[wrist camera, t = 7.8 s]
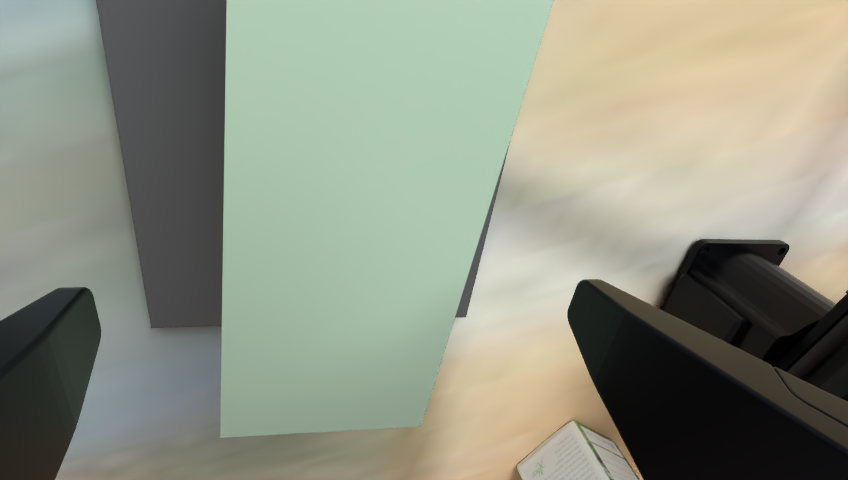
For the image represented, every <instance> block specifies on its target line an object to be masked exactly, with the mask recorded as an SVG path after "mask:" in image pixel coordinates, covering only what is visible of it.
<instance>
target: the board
mask: <svg viewBox="0 0 848 480" xmlns="http://www.w3.org/2000/svg"><path fill="white" fill-rule="evenodd" d="M553 1H554V0H227V8H226V75H225V142H224V209H223V276H222V343H221V410H220V438H227V437H245V436H263V435H280V434H298V433H316V432H333V431H351V430H369V429H386V428H404V427H421V425H422V421H423V418H424V415H425V412H426V409H427V405H428V402H429V399H430V396H431V392H432V389H433V386H434V383H435V380H436V376H437V373H438V370H439V367H440V364H441V360H442V357H443V354H444V351H445V348H446V344H447V341H448V338H449V335H450V332H451V328H452V325H453V322H454V319H455V316H456V312H457V309H458V306H459V303H460V299H461V296H462V293H463V290H464V287H465V283H466V280H467V277H468V274H469V271H470V267H471V264H472V261H473V258H474V255H475V251H476V248H477V245H478V242H479V239H480V235H481V232H482V229H483V226H484V223H485V219H486V216H487V213H488V210H489V206H490V203H491V200H492V197H493V194H494V190H495V187H496V184H497V181H498V178H499V174H500V171H501V168H502V165H503V162H504V158H505V155H506V152H507V149H508V146H509V142H510V139H511V136H512V133H513V130H514V126H515V123H516V120H517V117H518V113H519V110H520V107H521V104H522V101H523V97H524V94H525V91H526V88H527V85H528V81H529V78H530V75H531V72H532V69H533V65H534V62H535V59H536V56H537V53H538V49H539V46H540V43H541V40H542V37H543V33H544V30H545V27H546V24H547V20H548V17H549V14H550V11H551V8H552V4H553Z"/></svg>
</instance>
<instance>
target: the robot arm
mask: <svg viewBox="0 0 848 480" xmlns="http://www.w3.org/2000/svg"><path fill="white" fill-rule="evenodd" d="M788 250H789V245H788V244H786V243H785V242H783V241H780V240H725V239H702V240H699V241H698V242H696V243H695V244H694V246H693V247H692V249H691V251H690V253H689V255H688V257H687V259H686V261H685V263H684V265H683V267H682V269H681V271H680V273H679V275H678V277H677V279H676V281H675V283H674V285H673V287H672V289H671V291H670V293H669V295H668V297H667V299H666V301H665V303H664V305H663V307H662V309H661V310H660V309H658V308H656V307H654V306H652V305H650V304H648V303H646V302H644V301H642V300H640V299H638V298H636V297H634V296H632V295H630V294H628V293H626V292H624V291H622V290H620V289H618V288H616V287H614V286H612V285H610V284H608V283H606V282H604V281H602V280H598V279H588V280H582V281H580V282H579V283H578V285H577V287H576V290H575V293H574V295H573V298H572V300H571V303H570V306H569V308H568V321H569V324H570V327H571V329H572V332H573V334H574V337H575V339H576V342H577V344H578V347H579V349H580V352H581V354H582V357H583V359H584V362H585V364H586V367H587V369H588V371H589V374H590V376H591V378H592V381H593V383H594V385H595V387H596V389H597V391H598V393H599V395H600V397H601V399H602V401H603V403H604V405H605V407H606V409H607V410H608V412H609V414H610V416H611V418H612V420H613V422H614V424H615V426H616V428H617V430H618V432H619V433H620V435H621V437H622V439H623V441H624V443H625V445H626V447H627V449H628V451H629V453H630V454H631V456H632V458H633V460H634V462H635V464H636V466H637V468H638V470H639V472H640V474H641V476H642V477H643V479H644V480H848V290H847V291H846V293H847V294H846V295H845V296H844V297H843V298H842V299H841V300H840V301H839V302H838V303H837V304H835V303H833V302H832V301H830V300H829V299H827V298H826V297H824V296H823V295H821V294H820V293H818V292H817V291H815V290H814V289H812V288H811V287H809V286H808V285H806V284H805V283H803V282H802V281H800V280H799V279H797V278H795V277H794V276H792V275H791V274H789V273H788V272H786V271H785V270H783V269H782V268H780V267H779V265H780V263H781V262H782V260H783V259H784V257H785V255H786V254H787V252H788ZM100 338H101V327H100V322H99V318H98V314H97V310H96V306H95V301H94V297H93V294H92V292H91V291H90V290H89V289H88V288H85V287H74V288H58V289H56V290H54V291H52V292H50V293H48V294H47V295H45V296H43V297H41V298H40V299H38V300H36V301H34V302H33V303H31V304H29V305H27V306H26V307H24V308H22V309H20V310H19V311H17V312H15V313H13V314H12V315H10V316H8V317H6V318H5V319H3V320H1V321H0V480H55V478H56V476H57V473H58V471H59V469H60V466H61V464H62V461H63V459H64V456H65V454H66V452H67V449H68V447H69V444H70V442H71V439H72V437H73V434H74V431H75V429H76V426H77V423H78V419H79V416H80V413H81V409H82V405H83V402H84V398H85V394H86V391H87V387H88V383H89V380H90V376H91V373H92V369H93V365H94V362H95V358H96V354H97V351H98V347H99V343H100Z"/></svg>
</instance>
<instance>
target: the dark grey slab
mask: <svg viewBox="0 0 848 480" xmlns="http://www.w3.org/2000/svg"><path fill="white" fill-rule="evenodd" d="M96 2H97V8H98V14H99V20H100V26H101V32H102V38H103V44H104V50H105V56H106V62H107V68H108V74H109V79H110V85H111V91H112V97H113V103H114V109H115V115H116V121H117V127H118V133H119V139H120V145H121V151H122V157H123V163H124V169H125V175H126V181H127V187H128V192H129V198H130V204H131V210H132V216H133V222H134V228H135V234H136V240H137V246H138V252H139V258H140V264H141V270H142V276H143V282H144V288H145V294H146V300H147V305H148V311H149V317H150V323H151V328H164V327H194V326H222V276H223V209H224V142H225V75H226V8H227V0H96ZM509 143H510V142H509ZM508 147H509V146H508ZM507 151H508V149H507ZM506 155H507V152H506ZM506 155H505V158H504V162H503V165H502V168H501V171H500V174H499V178H498V181H497V184H496V187H495V190H494V194H493V197H492V200H491V203H490V206H489V210H488V213H487V216H486V219H485V223H484V226H483V229H482V232H481V235H480V239H479V242H478V245H477V248H476V251H475V255H474V258H473V261H472V264H471V267H470V271H469V274H468V277H467V280H466V283H465V287H464V290H463V293H462V296H461V299H460V303H459V306H458V309H457V312H456V316H455V317H466V314H467V310H468V306H469V302H470V298H471V294H472V290H473V286H474V282H475V278H476V275H477V271H478V267H479V263H480V259H481V255H482V251H483V247H484V243H485V239H486V235H487V231H488V227H489V223H490V219H491V215H492V211H493V207H494V203H495V199H496V195H497V191H498V187H499V183H500V179H501V175H502V171H503V167H504V163H505V159H506Z"/></svg>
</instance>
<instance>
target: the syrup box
mask: <svg viewBox="0 0 848 480" xmlns="http://www.w3.org/2000/svg"><path fill="white" fill-rule="evenodd" d="M517 469H518V472H519V474H520V476H521V478H522V480H640V479H639V478H638V476H637V475H636V473H635V472H634V470H633V469H632V467H631V466H630V464H629V463H628V461H627V460H626V458H625V457H624V455H623V454H622V452H621V451H620V449H619V448H618V446H617V445H616V443H615V442H614V441H613V440H611V439H609V438H607V437H605V436H603V435H601V434H599V433H597V432H595V431H593V430H591V429H589V428H587V427H585V426H584V425H582V424H580V423H578V422H576V421H570V422H569V423H567V424H566V425H565V426H563V427H562V428H561V429H559V430H558V431H557V432H555V433H554V434H553V435H552V436H550V437H549V438H548V439H547V440H545V441H544V442H543V443H542V444H541V445H540V446H538V447H537V448H536V449H535V450H534V451H533V452H532V453H530V454H529V455H528V456H527V457H526V458H525V459H524V460H522V461H521V462H520V463H519V464H518V465H517Z"/></svg>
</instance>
